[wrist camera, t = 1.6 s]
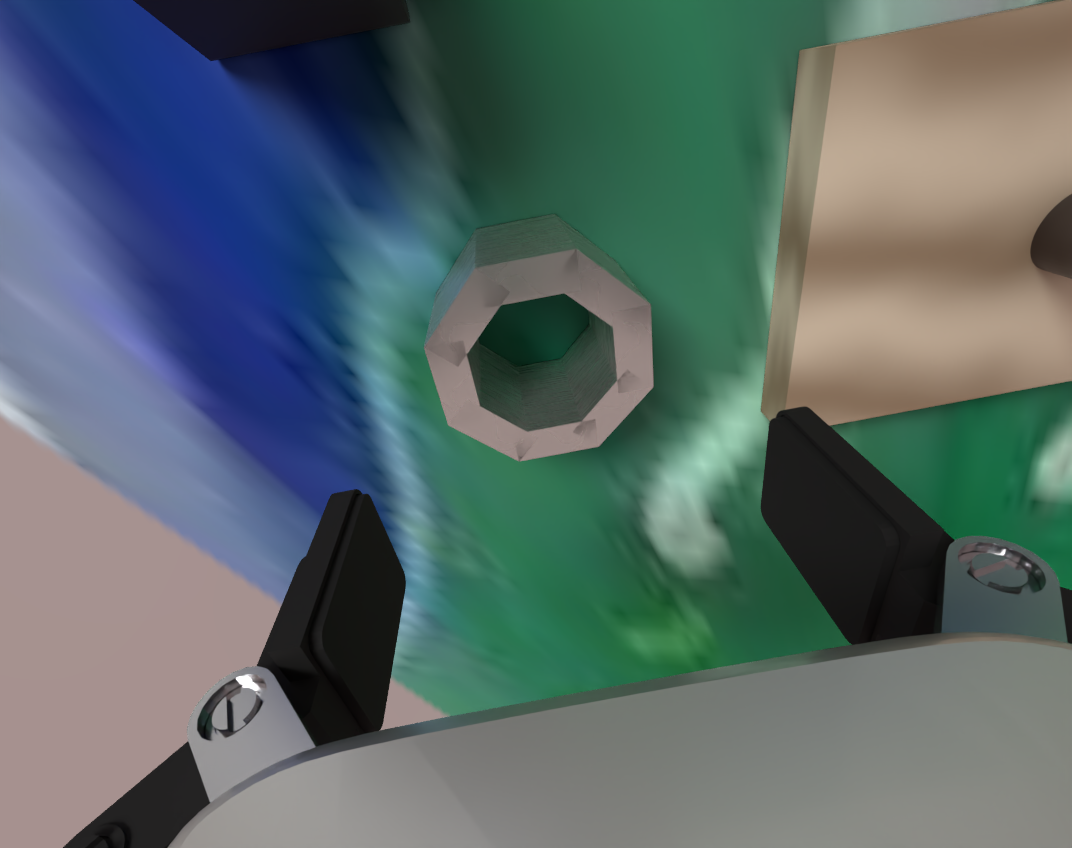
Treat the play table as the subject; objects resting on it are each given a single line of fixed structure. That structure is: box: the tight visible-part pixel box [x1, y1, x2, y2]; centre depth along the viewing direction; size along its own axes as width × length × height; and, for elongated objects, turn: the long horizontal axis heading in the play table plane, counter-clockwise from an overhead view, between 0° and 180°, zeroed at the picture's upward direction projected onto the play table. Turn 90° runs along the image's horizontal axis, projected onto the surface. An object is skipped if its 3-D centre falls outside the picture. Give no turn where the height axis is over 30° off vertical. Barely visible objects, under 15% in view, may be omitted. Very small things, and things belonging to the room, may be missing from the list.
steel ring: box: [424, 214, 654, 461], centre depth 18 cm, size 7×7×5 cm
